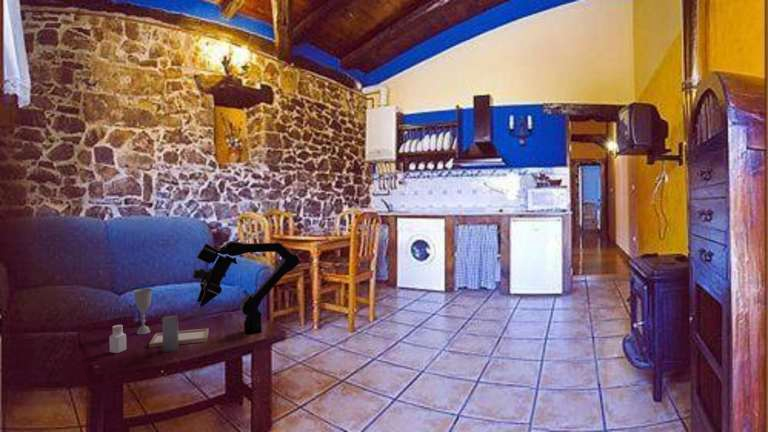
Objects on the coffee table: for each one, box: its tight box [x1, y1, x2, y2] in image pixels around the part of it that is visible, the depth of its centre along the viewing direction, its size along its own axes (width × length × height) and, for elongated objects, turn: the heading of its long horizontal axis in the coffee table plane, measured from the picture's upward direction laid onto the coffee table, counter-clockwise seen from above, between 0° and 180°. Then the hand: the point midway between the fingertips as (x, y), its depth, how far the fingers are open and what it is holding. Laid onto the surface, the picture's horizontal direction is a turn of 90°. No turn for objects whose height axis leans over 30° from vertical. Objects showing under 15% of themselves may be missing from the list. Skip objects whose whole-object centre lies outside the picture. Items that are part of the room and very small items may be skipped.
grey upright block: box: [161, 315, 179, 353], centre depth 153 cm, size 5×5×12 cm
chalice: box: [132, 287, 153, 335], centre depth 172 cm, size 7×7×18 cm
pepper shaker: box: [108, 324, 127, 354], centre depth 151 cm, size 4×4×10 cm
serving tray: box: [148, 327, 210, 348], centre depth 164 cm, size 20×13×2 cm, turn 110°
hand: (199, 304), depth 164 cm, fingers open, 9 cm apart
